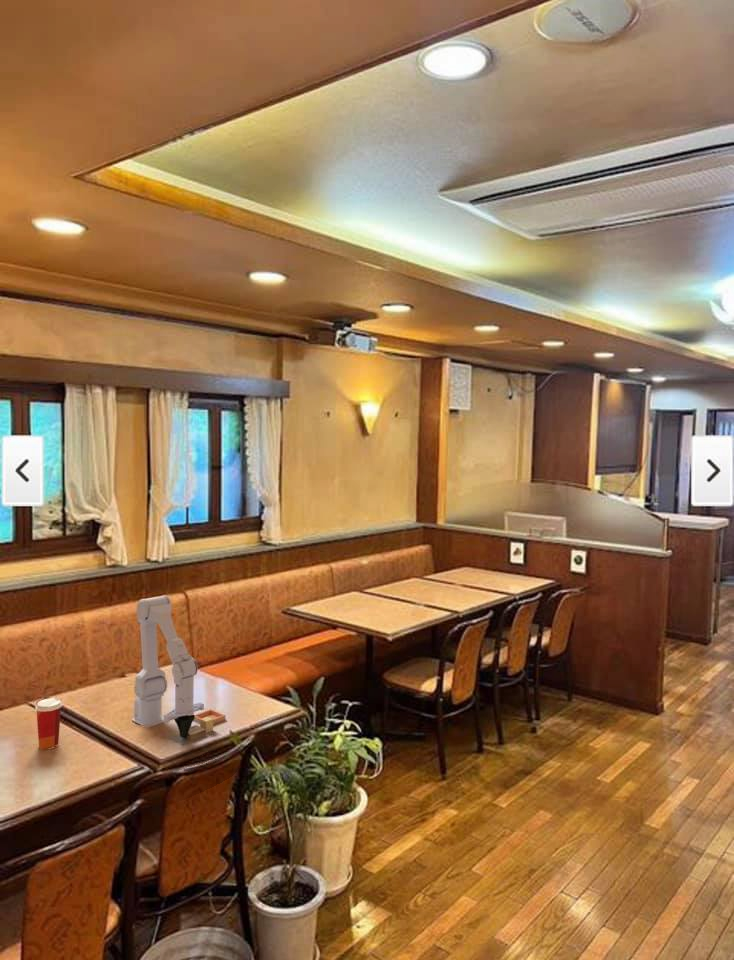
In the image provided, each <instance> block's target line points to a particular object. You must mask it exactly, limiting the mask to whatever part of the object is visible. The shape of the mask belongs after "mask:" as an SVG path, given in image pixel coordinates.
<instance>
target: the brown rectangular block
mask: <svg viewBox="0 0 734 960" xmlns="http://www.w3.org/2000/svg"><path fill="white" fill-rule="evenodd" d="M205 735H206V729H204V728H202V727H200V725H198V724H195V725H193V726H192V725H191V727H190V729H189V732H188V736H187V738H186V739H188V740H190V741H192V740H195V739H197V738H200V737H202V736H205Z"/></svg>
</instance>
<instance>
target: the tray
mask: <svg viewBox="0 0 734 960" xmlns="http://www.w3.org/2000/svg"><path fill="white" fill-rule="evenodd" d="M194 715H195V719H194V720H193V722H195V723H197V724H199V725H200V719H202V718H205V717H210V718H212V719H213V725H215V724H218V723H221V722H223V721H225V720H226V714H223V713H222V712H219V711H217V710H215V709H212V708H210V709H207V710H204V711H202V712H199V713H195V714H194Z"/></svg>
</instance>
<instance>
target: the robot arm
mask: <svg viewBox="0 0 734 960" xmlns="http://www.w3.org/2000/svg"><path fill="white" fill-rule="evenodd" d="M172 610H173V606H172V600H171V599H170V597H169V596H168V595H165V594H163V595H161V596H154V597H149V598H141V599H139V601H138V603H137V604H136V613H137V614H136V616H137V622H139V623H140V624H139V625H140V640H141V642H140V643H141V657H142V658H141V660H142V661H141V662H142V669H141V670H140V671H139V672H138V673H137V674H136V675H135V677H134V678H135V683H134V686H133V687H134V688H133V689H134V694H135V695H136V697H135V699H134V701H133V716H134V717H133V718H132V719H131V721H132V722H133V723H136V724H138V725H140V726H143V727H144V728H147V729H148V728H151V727H153V726H157V725H159V724H162V723H164V722H165V723H167V724H168V723H170V721H173V720H174V721H175V723H176V725H177V729H178V732H179V734H180V737H182V738H187V736H188V732H189V729H190V726H191V727H192V724H193V722H194V721H193V720H194V719H195V715H196V714H195V713H196V712H198V711H203V710H204V711H205V703H203V702H197V703H194V689H195V688H194V684H195V683H194V682H195V681H194V679H195V678H194V676H196V675H197V674H198V670H199V668H198V664H197V660H196V659H195V657H194V658H193V657H192V655H191V654H189V652H188V649H187V647H186V645H185V642H184V640H183V638H179V637H178V634H177V631H176V628H175V625H174V621H173V618H172V616H171V613H172ZM157 625H158V626H159V627H158V628H159V629H160V630H161V632H162V634H163V636H164V638H165V640H166V642H167V643H166V644H165V645H166V646H165V649H166V651H167V654H168V656H169V659H170V660H171V663H172V668H171V673H172V676H173V683H174V684H175V699H174V703H175V704H174V707H175V708H174V709H172V710H170V711H169V712H168V713H166V714H164V715H163V717H162V705H163V704H162V703H163V702H162V701H163V696H164V694H165V692H166V691H167V688H168V680H167V677H166V673H165V671H164V670H163V669H161V668H159V656H158V640H157V639H158V637H157V635H158V634H157Z"/></svg>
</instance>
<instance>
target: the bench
mask: <svg viewBox="0 0 734 960" xmlns="http://www.w3.org/2000/svg"><path fill="white" fill-rule="evenodd" d="M199 726H200V727H202V728H204V729H206V735H205V736H202V737H200V738H197V739H195V740H192V741H190V740H188V739H186V738H182V737H180V733H178V734H176V735H173V736H170V737H168V739H169V740H171V741H173V742H175V743H177V744H179V745H181V746H186V745H189V744H192V743H194V742H196V741H199V740H201V739H204V738H207V737H209V736H211V735H214V734H216V733H218V732H217V731H215V730H214V724H213V719H212V718H210V717H205V718H202V719H200V724H199Z"/></svg>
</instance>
